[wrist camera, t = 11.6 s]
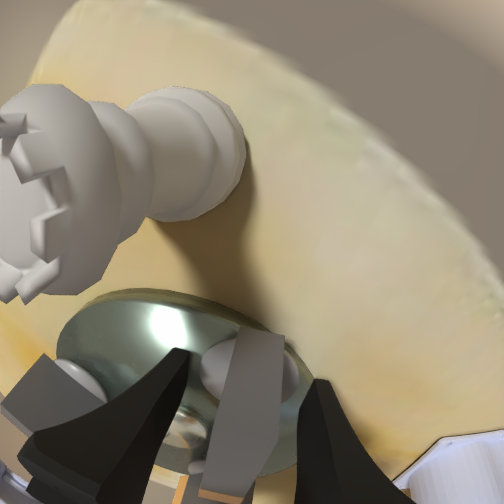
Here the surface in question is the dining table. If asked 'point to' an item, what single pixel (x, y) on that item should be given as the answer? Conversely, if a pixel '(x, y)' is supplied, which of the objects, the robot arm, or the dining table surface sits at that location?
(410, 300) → the dining table surface
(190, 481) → the knob
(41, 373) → the knob
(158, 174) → the rook chess piece
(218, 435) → the grey block
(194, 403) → the base plate
